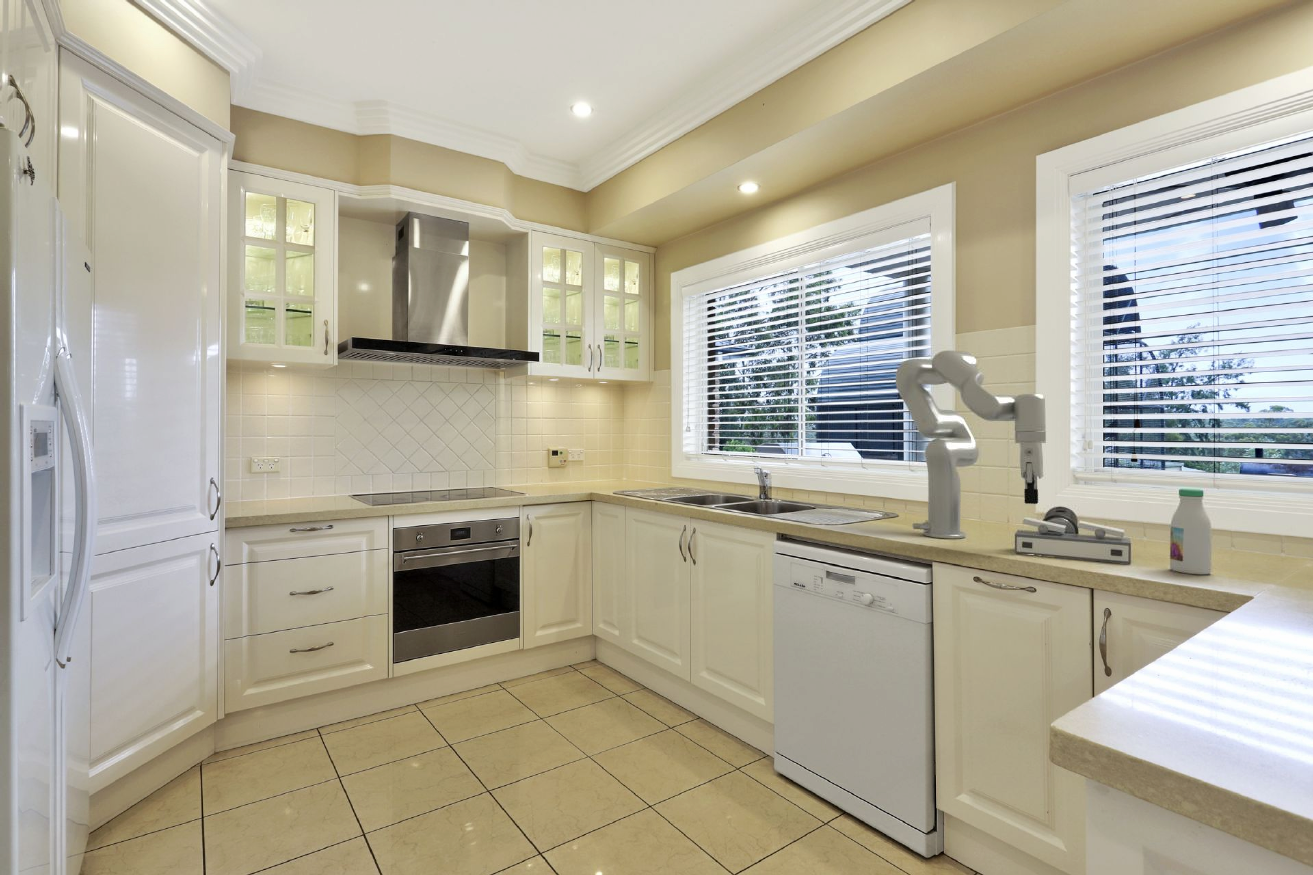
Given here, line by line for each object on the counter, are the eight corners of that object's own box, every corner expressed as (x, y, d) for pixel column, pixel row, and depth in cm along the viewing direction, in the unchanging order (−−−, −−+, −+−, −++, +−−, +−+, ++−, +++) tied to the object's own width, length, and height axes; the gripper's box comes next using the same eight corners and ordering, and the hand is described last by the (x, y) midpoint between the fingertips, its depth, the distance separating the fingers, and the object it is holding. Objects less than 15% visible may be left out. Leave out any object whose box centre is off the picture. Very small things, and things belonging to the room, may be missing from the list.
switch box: (1014, 553, 180) (1014, 534, 180) (1018, 548, 188) (1018, 529, 188) (1130, 564, 166) (1130, 543, 166) (1129, 558, 173) (1129, 538, 173)
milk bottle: (1212, 571, 158) (1213, 489, 158) (1210, 576, 152) (1211, 491, 152) (1171, 566, 163) (1172, 487, 163) (1168, 571, 158) (1169, 489, 157)
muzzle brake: (1078, 539, 205) (1078, 506, 204) (1078, 553, 181) (1078, 516, 181) (1043, 536, 210) (1043, 504, 210) (1038, 550, 186) (1038, 514, 186)
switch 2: (1076, 532, 175) (1079, 522, 175) (1077, 530, 179) (1079, 520, 179) (1121, 542, 169) (1124, 532, 169) (1121, 539, 173) (1123, 529, 173)
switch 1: (1021, 528, 182) (1023, 518, 182) (1023, 526, 186) (1025, 516, 186) (1063, 538, 177) (1065, 528, 176) (1063, 535, 181) (1065, 525, 180)
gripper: (1043, 437, 174) (1045, 506, 174) (1047, 437, 187) (1048, 501, 187) (1012, 438, 179) (1013, 505, 178) (1017, 438, 191) (1018, 500, 191)
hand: (1031, 503), depth 183 cm, fingers closed
